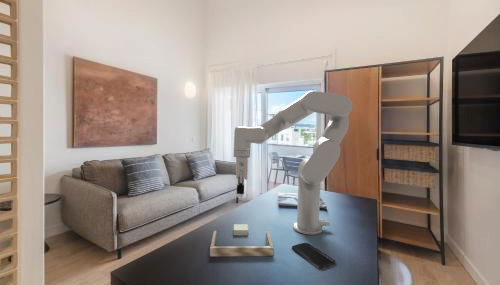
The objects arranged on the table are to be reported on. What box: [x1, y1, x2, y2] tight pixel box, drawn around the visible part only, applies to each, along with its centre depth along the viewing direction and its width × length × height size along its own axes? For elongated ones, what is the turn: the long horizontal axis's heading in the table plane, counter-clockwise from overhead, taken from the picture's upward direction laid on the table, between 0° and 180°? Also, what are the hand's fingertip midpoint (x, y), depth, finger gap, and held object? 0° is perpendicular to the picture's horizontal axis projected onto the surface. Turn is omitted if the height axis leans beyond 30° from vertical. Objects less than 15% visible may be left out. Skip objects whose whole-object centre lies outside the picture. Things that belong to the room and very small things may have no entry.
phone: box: [291, 242, 337, 270], centre depth 83 cm, size 8×1×15 cm
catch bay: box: [209, 230, 274, 257], centre depth 88 cm, size 22×14×3 cm, turn 93°
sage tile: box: [233, 223, 249, 236], centre depth 100 cm, size 6×6×2 cm
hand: (240, 193), depth 107 cm, fingers closed
